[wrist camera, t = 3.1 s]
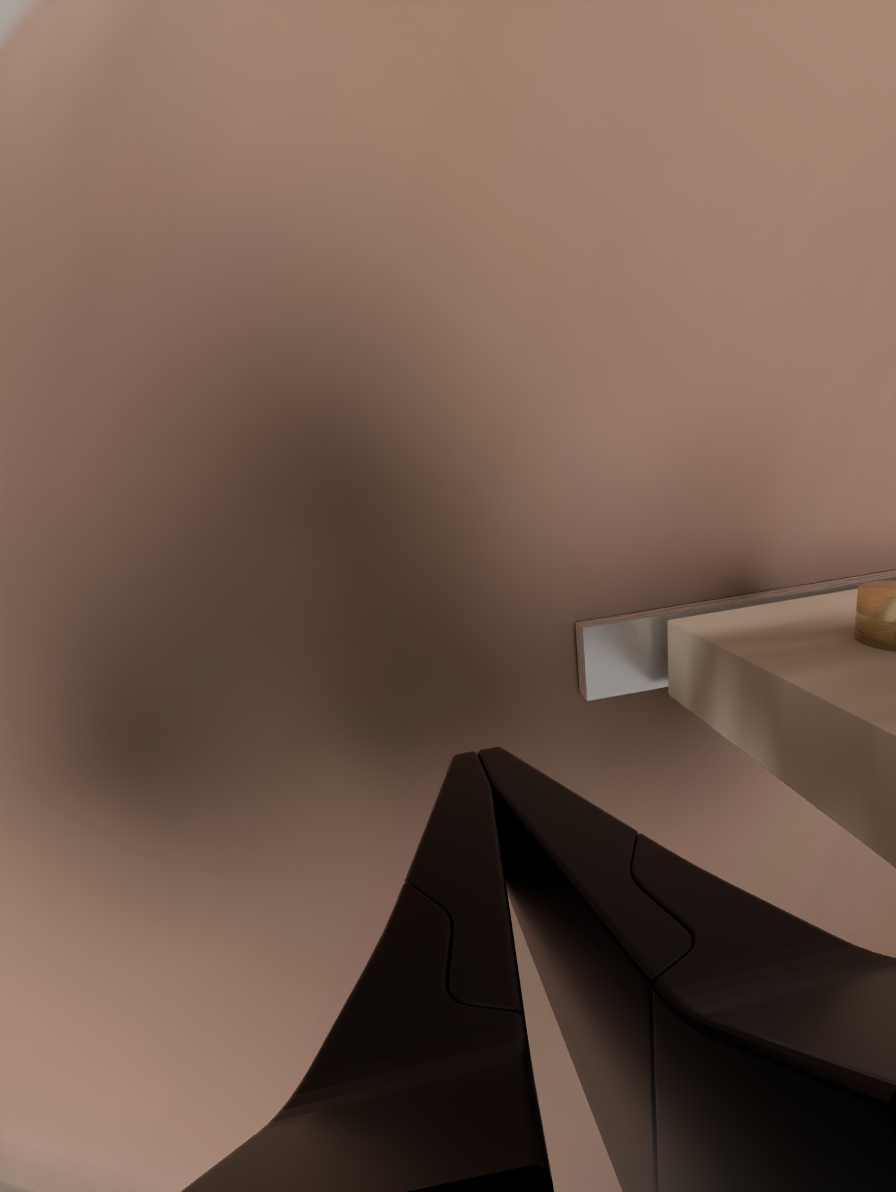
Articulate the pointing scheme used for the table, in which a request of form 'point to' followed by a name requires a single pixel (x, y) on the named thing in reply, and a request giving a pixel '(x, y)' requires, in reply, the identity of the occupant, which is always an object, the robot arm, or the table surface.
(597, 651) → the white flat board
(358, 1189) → the robot arm
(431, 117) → the table surface
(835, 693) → the door
